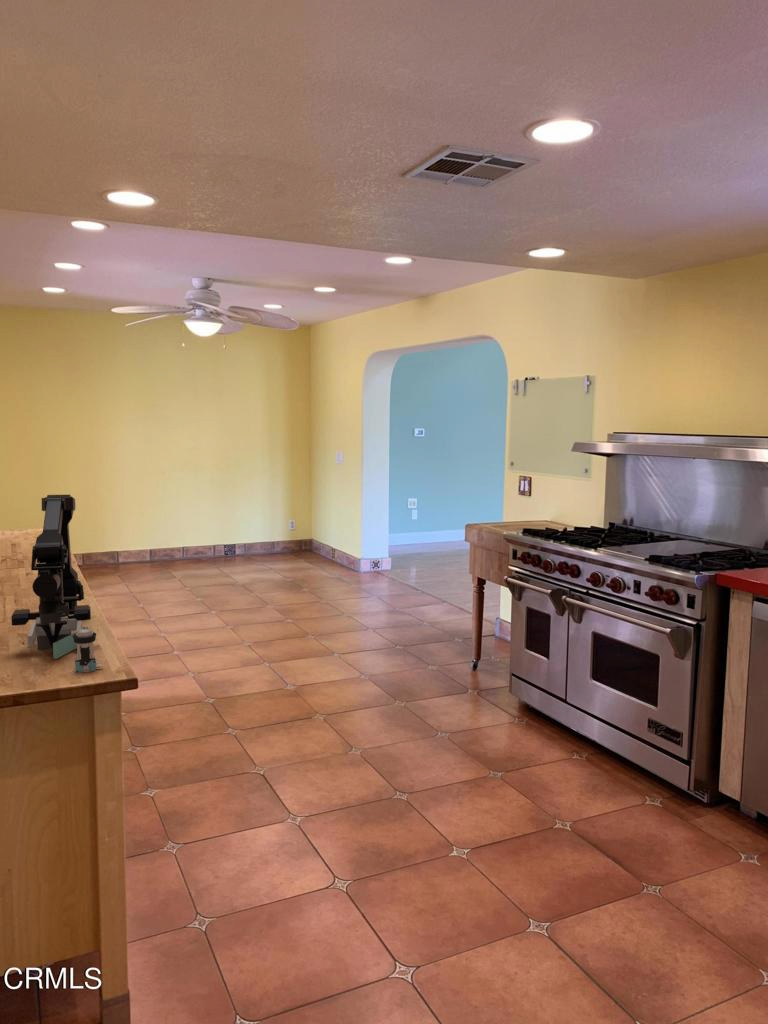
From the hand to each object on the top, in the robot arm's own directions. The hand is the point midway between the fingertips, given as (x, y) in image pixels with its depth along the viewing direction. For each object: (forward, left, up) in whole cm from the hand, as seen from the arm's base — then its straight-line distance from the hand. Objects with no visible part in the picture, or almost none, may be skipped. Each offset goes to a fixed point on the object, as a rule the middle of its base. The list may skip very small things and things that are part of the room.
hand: (53, 646), depth 200 cm
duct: (-13, +1, -1) cm, 13 cm away
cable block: (-5, 0, -2) cm, 5 cm away
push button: (+18, +9, -2) cm, 20 cm away
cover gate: (+1, +4, -1) cm, 4 cm away
